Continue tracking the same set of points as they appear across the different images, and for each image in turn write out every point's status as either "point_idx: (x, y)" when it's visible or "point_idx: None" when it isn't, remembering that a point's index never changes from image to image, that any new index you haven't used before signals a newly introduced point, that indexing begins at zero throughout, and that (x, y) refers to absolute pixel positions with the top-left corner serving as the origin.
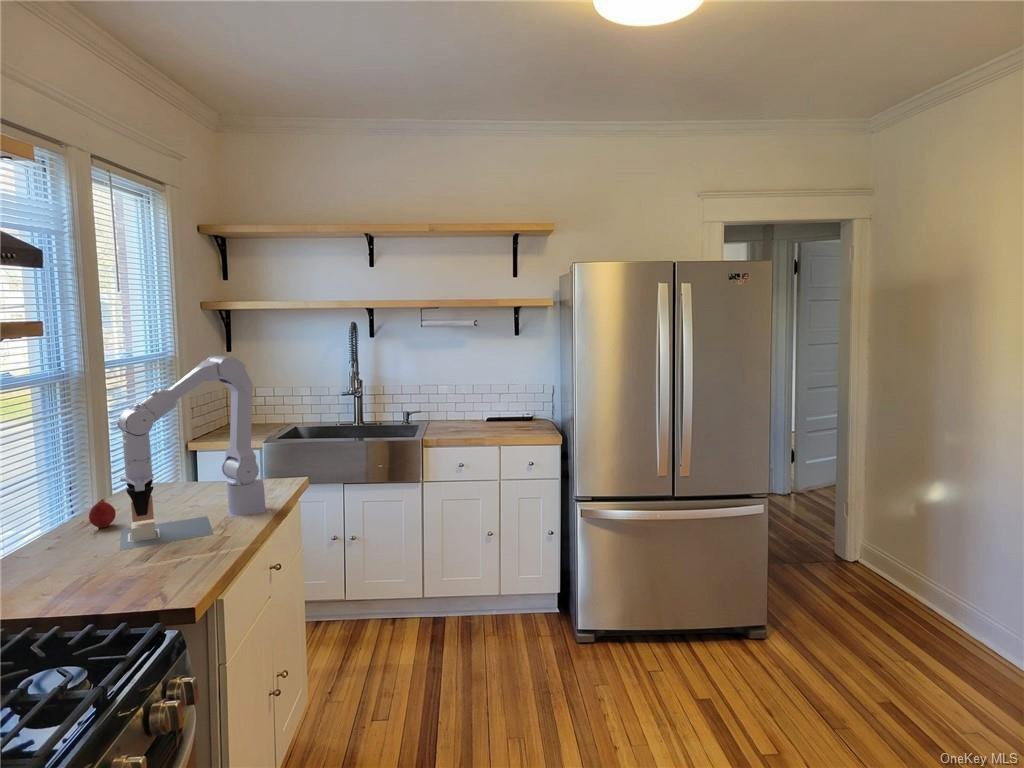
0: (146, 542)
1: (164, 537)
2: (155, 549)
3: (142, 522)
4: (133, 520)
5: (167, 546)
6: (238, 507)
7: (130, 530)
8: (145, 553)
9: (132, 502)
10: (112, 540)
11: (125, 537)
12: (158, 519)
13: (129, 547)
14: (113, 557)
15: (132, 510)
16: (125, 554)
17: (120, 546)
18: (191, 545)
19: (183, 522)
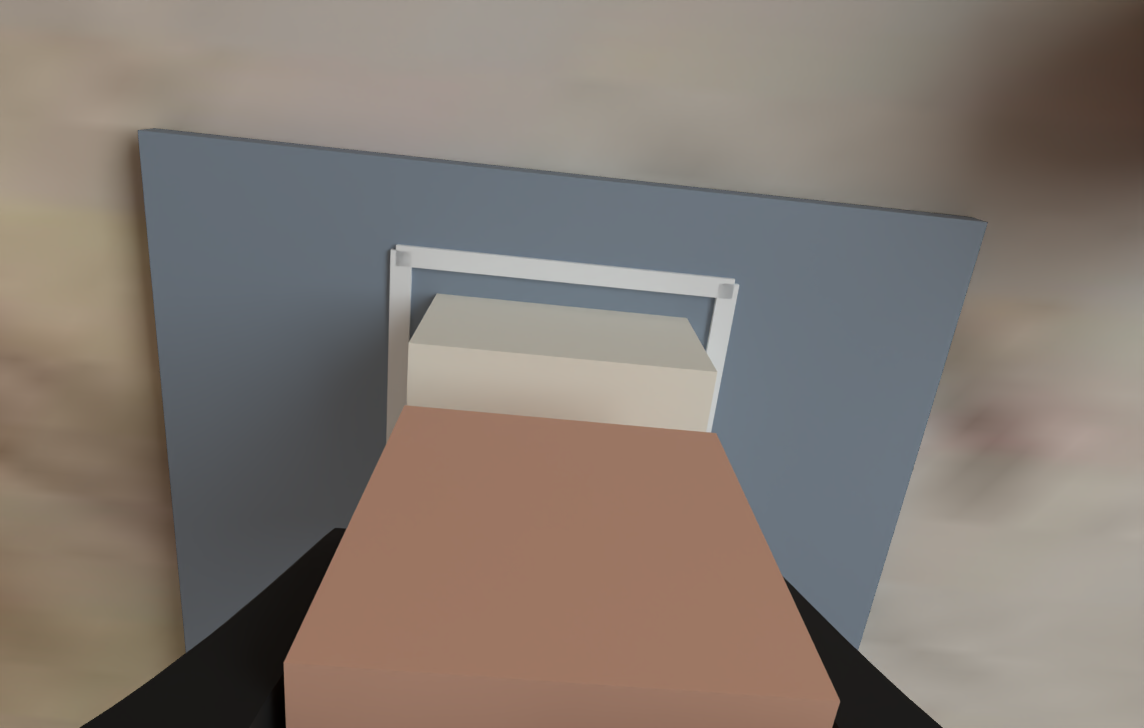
0: (278, 416)
1: None
2: (95, 458)
3: None
4: (398, 430)
5: (137, 557)
6: None
7: (861, 315)
8: (5, 363)
9: (291, 683)
10: (703, 91)
11: (617, 238)
12: (1104, 589)
13: (189, 240)
14: (10, 41)
15: (355, 531)
16: (64, 177)
17: (281, 151)
18: (65, 715)
19: None
